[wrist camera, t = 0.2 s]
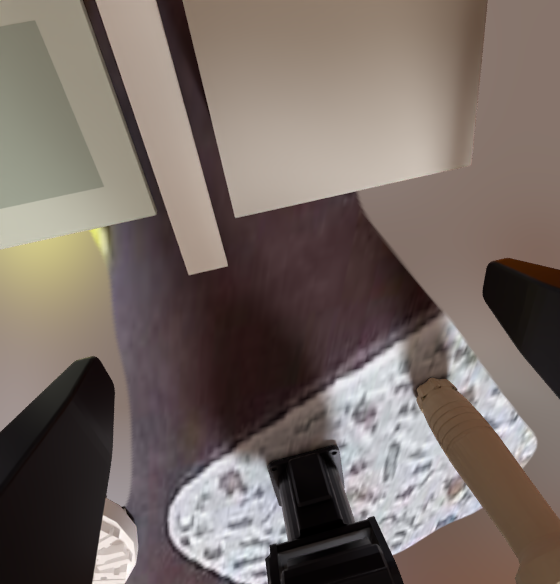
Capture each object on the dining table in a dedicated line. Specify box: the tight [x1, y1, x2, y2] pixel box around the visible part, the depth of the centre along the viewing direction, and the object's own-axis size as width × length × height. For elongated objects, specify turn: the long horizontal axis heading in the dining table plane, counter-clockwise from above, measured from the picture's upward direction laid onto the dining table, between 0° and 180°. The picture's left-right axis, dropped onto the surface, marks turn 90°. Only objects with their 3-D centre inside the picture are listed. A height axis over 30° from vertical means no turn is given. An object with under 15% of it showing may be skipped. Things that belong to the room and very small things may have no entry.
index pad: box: [0, 0, 157, 249], centre depth 17 cm, size 11×10×1 cm
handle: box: [417, 377, 560, 584], centre depth 26 cm, size 5×6×15 cm
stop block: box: [183, 0, 488, 218], centre depth 13 cm, size 6×6×13 cm
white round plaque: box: [92, 495, 138, 584], centre depth 32 cm, size 20×20×3 cm
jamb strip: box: [96, 0, 228, 275], centre depth 19 cm, size 16×2×1 cm, turn 10°
